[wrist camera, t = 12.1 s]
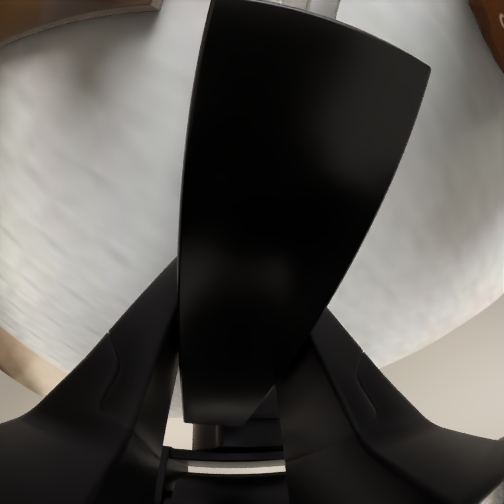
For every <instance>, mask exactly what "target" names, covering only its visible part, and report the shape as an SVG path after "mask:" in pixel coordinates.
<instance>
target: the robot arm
mask: <svg viewBox="0 0 504 504" xmlns="http://www.w3.org/2000/svg"><path fill="white" fill-rule="evenodd" d="M362 352H363V350H362V349H361V348H360V346H359V345H358V344H357V343H356V342H355V340H354V339H353V338H352V337H351V336H350V334H349V333H348V332H347V331H346V330H345V328H344V327H343V326H342V325H341V324H340V322H339V321H338V320H337V319H336V318H335V316H334V315H333V314H332V313H331V312H330V311H329V309H328V308H327V307H326V309H325V310H324V312H323V314H322V315H321V317H320V319H319V320H318V322H317V323H316V325H315V327H314V328H313V330H312V331H311V333H310V334H309V336H308V337H307V339H306V341H305V342H304V344H303V345H302V347H301V348H300V350H299V351H298V353H297V354H296V355H295V357H294V358H293V360H292V361H291V363H290V364H289V366H288V367H287V369H286V370H285V371H284V373H283V374H282V376H281V377H280V378H279V380H278V381H277V383H276V384H275V385H274V387H273V388H272V389H271V391H270V392H269V393H268V395H267V396H266V397H265V399H264V400H263V401H262V403H261V404H260V405H259V407H258V408H257V409H256V410H255V412H254V413H253V414H252V415H251V417H250V418H249V419H248V420H247V422H246V423H245V424H244V425H243V426H242V427H239V426H216V425H202V424H193V444H192V445H193V446H192V450H185V449H174V448H172V447H169V446H163V441H164V435H165V430H166V424H167V419H168V414H169V409H170V404H171V399H172V394H173V389H174V385H175V380H176V375H177V371H178V366H179V353H178V326H177V257H176V258H175V259H174V260H173V261H172V262H171V263H170V264H169V265H168V266H167V267H166V268H165V269H164V271H163V272H162V273H161V274H160V275H159V276H158V277H157V278H156V279H155V280H154V281H153V282H152V283H151V284H150V285H149V287H148V288H147V289H146V290H145V291H144V292H143V293H142V294H141V295H140V296H139V297H138V299H137V300H136V301H135V302H134V303H133V304H132V305H131V306H130V307H129V309H128V310H127V311H126V312H125V313H124V314H123V315H122V316H121V318H120V319H119V320H118V321H117V322H116V323H115V324H114V326H113V327H112V328H111V329H110V330H109V333H106V335H105V336H104V337H103V338H102V339H101V340H100V342H99V343H98V344H97V345H96V346H95V347H94V348H93V350H92V351H91V352H90V353H89V354H88V355H87V356H86V357H85V358H84V359H83V360H82V361H81V362H80V363H79V364H78V365H77V366H76V367H75V368H74V369H73V370H72V371H71V372H70V373H69V374H68V375H67V376H66V377H65V378H64V379H63V380H62V381H61V382H60V383H59V384H58V385H57V386H56V387H55V388H54V389H53V390H52V391H51V392H50V393H49V394H48V395H47V396H46V397H45V398H44V399H43V400H42V401H41V402H40V403H39V404H38V405H37V406H35V407H34V408H33V409H32V410H30V411H29V412H27V413H26V414H24V415H22V416H20V417H18V418H16V419H13V420H10V421H7V422H4V423H1V424H0V504H504V437H503V438H500V439H499V440H492V439H487V438H482V437H477V436H473V435H469V434H465V433H461V432H457V431H453V430H450V429H446V428H442V427H440V426H437V425H435V424H434V423H432V422H430V421H429V420H427V419H426V418H425V417H424V416H423V415H422V414H421V413H420V412H419V411H418V410H417V409H416V408H415V407H414V406H413V405H412V404H411V403H410V402H409V401H408V400H407V399H406V398H405V397H404V396H403V395H402V394H401V393H400V392H399V391H398V390H397V389H396V388H395V387H394V386H393V384H391V382H390V381H389V380H388V379H387V378H386V377H385V376H384V375H383V374H382V373H381V371H380V370H379V369H378V368H377V367H376V365H375V364H374V363H373V362H372V361H371V360H370V358H369V357H368V356H367V355H366V354H365V352H363V353H362ZM283 465H285V468H286V471H285V472H274V473H261V474H206V473H191V472H188V466H194V467H211V468H255V467H271V466H283Z"/></svg>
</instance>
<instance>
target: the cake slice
mask: <svg viewBox="0 0 504 504" xmlns="http://www.w3.org/2000/svg"><path fill="white" fill-rule="evenodd" d="M468 1H469V4H470V7H471V9H472V11H473V13H474V16H475V18H476V20H477V22H478V25H479V27H480V30H481V32H482V35H483V37H484V39H485V41H486V43H487V45H488V47H489V48H490V50H491V52H492V54H493V56H494V58H495V60H496V62H497V63H498V65H499V67H500V68H501V70H502V72H503V73H504V0H468Z"/></svg>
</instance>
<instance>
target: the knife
mask: <svg viewBox="0 0 504 504" xmlns="http://www.w3.org/2000/svg"><path fill="white" fill-rule="evenodd" d="M339 3H340V0H283V3H282V4H280V3H275V2H270V1H265V0H211V2H210V6H209V10H208V14H207V18H206V23H205V27H204V31H203V36H202V41H201V45H200V50H199V56H198V61H197V66H196V72H195V78H194V83H193V90H192V96H191V103H190V110H189V117H188V124H187V132H186V141H185V150H184V160H183V170H182V182H181V195H180V210H179V229H178V256H177V326H178V353H179V371H180V385H181V398H182V409H183V419H184V422H185V423H192V424H202V425H216V426H239V427H242V426H243V425H244V424H245V423H246V422H247V420H248V419H249V418H250V417H251V415H252V414H253V413H254V412H255V410H256V409H257V408H258V407H259V405H260V404H261V403H262V401H263V400H264V399H265V397H266V396H267V395H268V393H269V392H270V391H271V389H272V388H273V387H274V385H275V384H276V383H277V381H278V380H279V378H280V377H281V376H282V374H283V373H284V371H285V370H286V369H287V367H288V366H289V364H290V363H291V361H292V360H293V358H294V357H295V355H296V354H297V353H298V351H299V350H300V348H301V347H302V345H303V344H304V342H305V341H306V339H307V337H308V336H309V334H310V333H311V331H312V330H313V328H314V327H315V325H316V323H317V322H318V320H319V319H320V317H321V315H322V314H323V312H324V310H325V309H326V307H327V306H328V304H329V302H330V300H331V299H332V297H333V295H334V294H335V292H336V290H337V289H338V287H339V285H340V283H341V282H342V280H343V278H344V276H345V274H346V273H347V271H348V269H349V267H350V265H351V264H352V262H353V260H354V258H355V256H356V254H357V252H358V251H359V249H360V247H361V245H362V243H363V241H364V239H365V237H366V235H367V233H368V231H369V229H370V227H371V225H372V223H373V221H374V219H375V217H376V215H377V213H378V210H379V208H380V206H381V204H382V202H383V200H384V198H385V195H386V193H387V191H388V189H389V186H390V184H391V182H392V180H393V177H394V175H395V172H396V170H397V168H398V165H399V163H400V160H401V158H402V155H403V153H404V150H405V148H406V145H407V143H408V140H409V137H410V135H411V132H412V129H413V126H414V124H415V121H416V118H417V115H418V112H419V109H420V106H421V103H422V100H423V97H424V93H425V90H426V87H427V83H428V80H429V76H430V73H431V68H430V67H429V66H428V65H427V64H425V63H424V62H422V61H420V60H419V59H417V58H415V57H414V56H412V55H410V54H409V53H407V52H405V51H403V50H401V49H400V48H398V47H396V46H394V45H392V44H390V43H388V42H386V41H384V40H382V39H380V38H378V37H376V36H374V35H372V34H369V33H367V32H365V31H363V30H360V29H358V28H355V27H353V26H351V25H348V24H345V23H343V22H340V21H337V20H335V18H336V15H337V11H338V7H339Z"/></svg>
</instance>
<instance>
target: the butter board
mask: <svg viewBox="0 0 504 504" xmlns="http://www.w3.org/2000/svg"><path fill="white" fill-rule="evenodd" d="M161 4H162V0H0V47H2V46H4V45H6V44H8V43H11V42H13V41H15V40H18V39H20V38H23V37H26V36H28V35H31V34H34V33H37V32H40V31H43V30H46V29H49V28H53V27H56V26H60V25H63V24H67V23H71V22H75V21H80V20H85V19H90V18H95V17H101V16H107V15H114V14H121V13H131V12H143V11H159V10H160V8H161Z"/></svg>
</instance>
